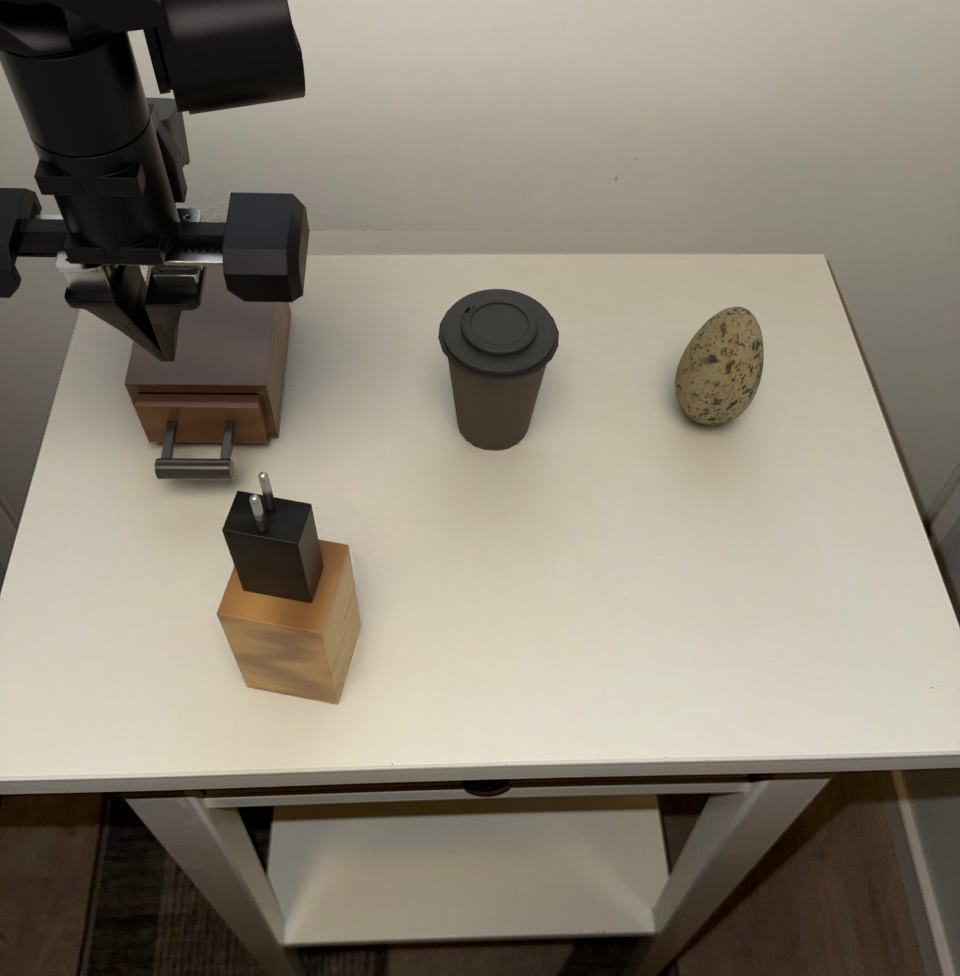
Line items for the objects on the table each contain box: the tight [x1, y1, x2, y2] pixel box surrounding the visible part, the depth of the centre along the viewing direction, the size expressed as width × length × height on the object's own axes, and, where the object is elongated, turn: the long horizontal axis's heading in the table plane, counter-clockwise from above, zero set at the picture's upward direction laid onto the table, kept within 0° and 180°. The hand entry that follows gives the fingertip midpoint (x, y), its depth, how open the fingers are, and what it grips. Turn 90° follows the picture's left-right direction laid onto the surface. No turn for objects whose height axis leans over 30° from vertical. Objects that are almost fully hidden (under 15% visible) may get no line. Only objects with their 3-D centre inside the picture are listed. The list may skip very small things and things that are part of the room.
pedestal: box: [216, 538, 362, 705], centre depth 60 cm, size 6×6×10 cm
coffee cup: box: [437, 288, 560, 452], centre depth 69 cm, size 8×8×10 cm
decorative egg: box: [674, 306, 765, 427], centre depth 70 cm, size 6×6×10 cm
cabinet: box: [124, 267, 292, 439], centre depth 72 cm, size 13×10×6 cm
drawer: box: [134, 392, 269, 481], centre depth 70 cm, size 16×8×4 cm, turn 1°
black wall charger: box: [221, 471, 324, 603], centre depth 52 cm, size 4×3×9 cm, turn 79°
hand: (169, 356), depth 61 cm, fingers closed
